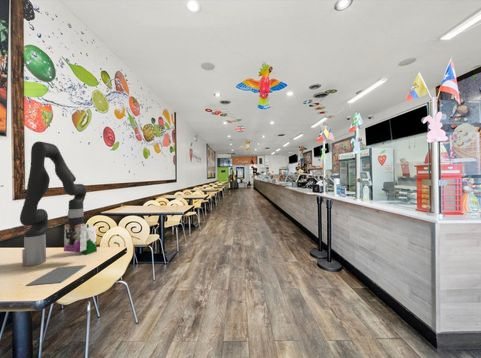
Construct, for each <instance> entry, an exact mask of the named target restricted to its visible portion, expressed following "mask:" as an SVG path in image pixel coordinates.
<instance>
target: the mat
mask: <svg viewBox="0 0 481 358" xmlns="http://www.w3.org/2000/svg"><path fill="white" fill-rule="evenodd" d="M86 267H87V264H81V265H72V266H71V265H70V266H59V267H56V268H54V269H52V270H51V271H50V270H49V272H46V273H45V274H43V275H42V276H39V277H37V278H36V279H34V280H32V281H30V282H29V283H27V284H25V287H31V286H40V285H52V284H61V283H63V282H64V281H66V280H67V279H69V278H70V277H72V276H73V275H75V274H76V273H78V272H79V271H81V270H82V269H84V268H86Z"/></svg>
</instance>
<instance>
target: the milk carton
mask: <svg viewBox="0 0 481 358" xmlns="http://www.w3.org/2000/svg"><path fill="white" fill-rule="evenodd" d="M86 224H87V247H86V250H84V251H82V252H79V254H80V255H86V256H87V255H90V254H92V253H95V252H98V245H97V230H98V226H97V225H89V224H88V223H86Z"/></svg>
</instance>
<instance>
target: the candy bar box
mask: <svg viewBox="0 0 481 358" xmlns="http://www.w3.org/2000/svg"><path fill="white" fill-rule="evenodd" d="M87 224H88V223H82V224H77V225H75V231H74V232H72V233H75V237H74V245H69V239H66V229H69V228H70V225H68V223H67V224H64V227H63V228H64V229H63V231H64V232H63V237H64V238H63V252H67V253H69V252H70V253H80V252H82V251H84V250H86V247H87ZM68 236H69V235H68ZM72 237H73V235H72Z"/></svg>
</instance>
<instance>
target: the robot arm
mask: <svg viewBox="0 0 481 358" xmlns="http://www.w3.org/2000/svg"><path fill="white" fill-rule="evenodd" d="M46 158H47V159H50V161H52V163H53V165H54V172H55V175H56V176H57V177H58V179H59V180H60V181H61V182H62V186H63V189H64V190H63V191H65V192H64V193H66V194H67V195H69V196H74V197H73V198H72V199H70V200H68V212H67V224H68V225H70V228H69V229H66V239H69V245H74V237H75V233H72V232H74V231H75V225H77V224H84V220H85V219H84V213H85V212H84V201H85V199H86V195H87V187H86V186H85V185H84V184H83V183H75V182H76V180H77V179H76V176H75V175H74V173H73V172H72V171H71V170H70V168H69V167H68V165H67V163H66V162H65V160H64V157H63V156H62V154H61V150H60V149H59V148H58V146H57V145H55V144H53V143H49V142H45V141H40V140H39V141H36V142H34V143H33V144H32V145H31V149H30V166H29V167H30V169H29V173H28V174H29V175H28V179H27V180H28V181H27V185H26V193H25V197H24V202H23V206H22V209H21V211H20V215H19V222H20V223H21V225H23V226H26V227H29V226H31V227H30V228H29V229H27V230H26V231H25V232H24V233H23V237H24V238H23V241H24V243H23V248H24V249H22V250H21V254H22V255H21V256H22V257H21V259H22V260H21V261H22V266H24V267H30V266H31V267H32V266H36V265H41V264H44V263H45V262H46V261H47V246H46V245H47V244H46V243H47V241H46V240H47V239H46V237H47V236H46V235H47V234H46V233H47V230H48V221H49V215H48V212H47V210H46V209H43V208H38V207H39V203H40V201H41V199H42V198H44V196H45V195H46V194H47V192H48V190H49V186H50V179H51V178H50V176H49V173H48V172H47V168H46V167H45V160H46ZM68 235H69V236H68ZM72 235H73V237H72Z"/></svg>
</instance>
